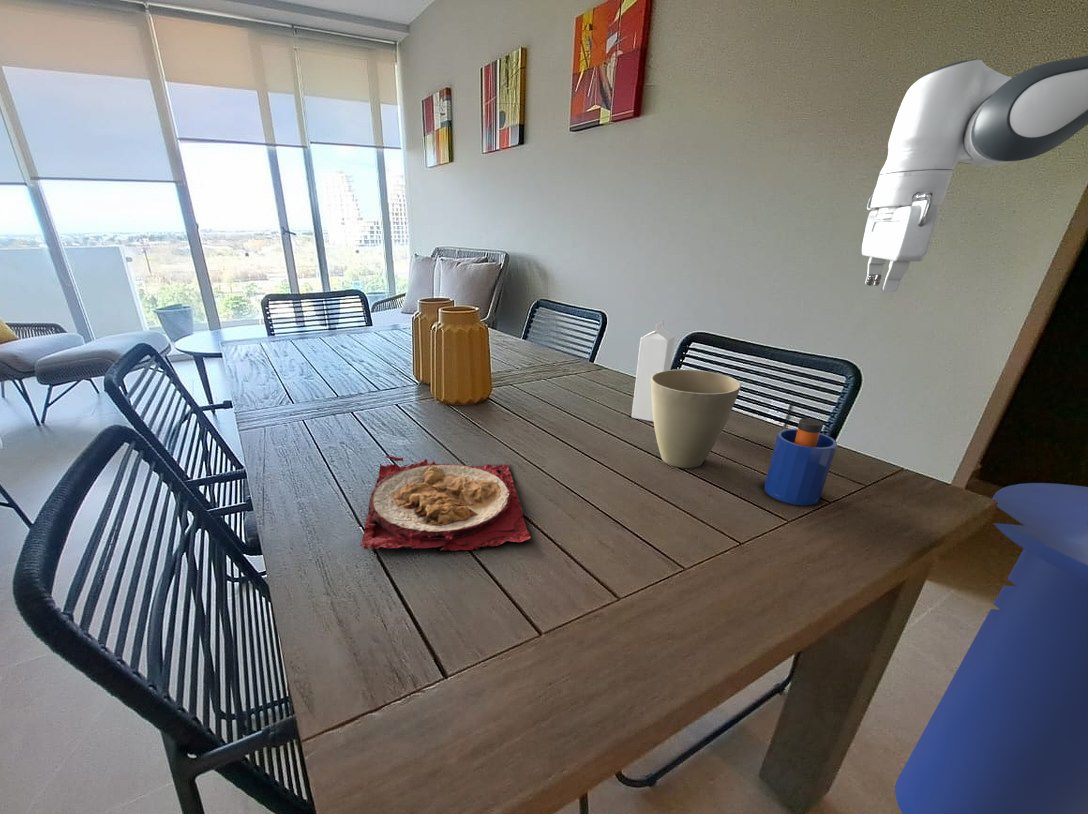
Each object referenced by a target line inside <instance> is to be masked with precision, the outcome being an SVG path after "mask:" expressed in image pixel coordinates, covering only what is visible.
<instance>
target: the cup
mask: <svg viewBox="0 0 1088 814" xmlns="http://www.w3.org/2000/svg"><path fill="white" fill-rule="evenodd" d="M797 430H798V428H786V429H782V430H779V431H778V432H777V435H776V438H775V443H774V447H773V450H772V455H771V458H770V462H769V466H768V469H767V474H766V477H765V482H764V486H763V489H764V491H765V493H766V494H768V495H769V496H770V497H772V498H773V499H776V500H778V501H780V502H782V503H786V504H791V505H795V506H813V505H815V504H817V503H819V501H820V499H821V497H822V494H823V491H824V487H825V485H826V482H827V479H828V474H829V471H830V468H831V467H832V463H833V459H834V455H835V453H836V449H837V448H838V447H837V446H838V442H837V441H836V440H835V439H834V438H833V437H831V436H828V435H827V434H824V433H821V432H820V435H819V438H818V442H817V445H816V447H808V446H802V445H798V444H795V443H794V441H795V437H796V434H797Z"/></svg>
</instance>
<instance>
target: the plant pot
mask: <svg viewBox="0 0 1088 814" xmlns="http://www.w3.org/2000/svg"><path fill="white" fill-rule="evenodd" d="M741 387H742V384H741V382H740V381H739V380H738V379H735V378H734V377H732V376H729V375H726V374H722V373H718V372H713V371H707V370H699V369H680V368H679V369H670V370H667V371H661V372H658V373H655V374H654V375H652V377H651V399H652V412H653V421H654V422H653V421H652V422H653V426H654V432H655V437H656V438H655V439H656V442H657V447H658V450H659V454H660V458H661V460H662V461H663V462H664V463H666V464H667V465H669V466H671V467H675V468H681V469H694V468H695V469H696V468H698V467H700V466H702V464H703V463H704V462H705V460H706V458H707V457H708V456H709V454H710V453H711V451H712V450H713V448H714V446H715V444H716V442H717V441H718V439H719V438H720V436H721V434H722V432H723V430H724V428H725V426H726V424H727V422H728V420H729V417H730V415H731V413H732V411H733V408H734V406H735V403H736V401H737V397H738V395H739V393H740V390H741Z"/></svg>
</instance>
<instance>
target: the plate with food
mask: <svg viewBox="0 0 1088 814" xmlns="http://www.w3.org/2000/svg"><path fill="white" fill-rule="evenodd" d="M385 458H386V459H390V460H393V461H394V462H405V460H404V457H396V456H389V455H385ZM401 464H402V463H399V465H397V463H394V464H386V465H382V463H380V464H379V469H378V470H379V471H378V478H377V479H376V484H374V488H373V489H372V491H371V494H370V497H369V502H368V512H367V516H366V520H365V524H364V532H363V535H362V539H361V543H360V545H359V547H362V548H363V549H364V550H368V549H370V548H371V549H372V550H375V549H376V550H379V549H380V548H386V549H390V550H391V549H398V548H402V549H404V548H405V549H406V548H409V547H410V548H411V549H412V550H413V549H430V548H431V549H433V548H434V549H433V551H435V550H436V549H435V548H438V547H442V548H440V549H439V551H440V552H441V551H444V552H446V551H452V552H456V551H460V550H461V551H473V550H476V551H477V550H478V551H479V550H480V548H483V547H484V548H485V547H488V546H489V547H497V546H500V545H502V544H504V543H505V542H513V543H522V542H524V541H527V540H529V539H531V538H532V537H531V536H530V531H529V530H528V528H527V525H526V522H525V519H524V513H523V509H522V506H521V501H520V499H519V496H518V493H517V489H516V487H515V482H514V480H513V476H512V472H511V471H510V468H509V464H503V465H502V464H498V465H497V464H494V465H491V464H484V465H483V466H481V465H480V466H473V465H464V464H458V463H457V464H456V463H437V462H435V461H434V460H432V461H431V462H430V463H428V459H427V458H424V460H423V461H419V462H416V463H411V464H409V465H408V464H404V465H403V466H401ZM498 471H499V472H498Z"/></svg>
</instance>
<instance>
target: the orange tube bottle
mask: <svg viewBox="0 0 1088 814" xmlns="http://www.w3.org/2000/svg"><path fill="white" fill-rule="evenodd" d="M823 427H824V422H822V421H821V420H818V419H813V418H800V419H799V421H798V424H797V429H798V430H797V434H796V437H795V441H794V443H795V444H798V445H802V446H808V447H816V445H817V442H818V438H819V435H820V433H821V432H822V431H823Z"/></svg>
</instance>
